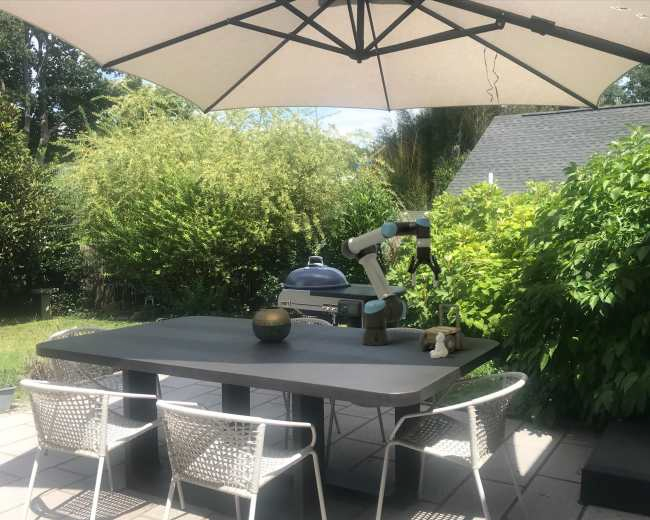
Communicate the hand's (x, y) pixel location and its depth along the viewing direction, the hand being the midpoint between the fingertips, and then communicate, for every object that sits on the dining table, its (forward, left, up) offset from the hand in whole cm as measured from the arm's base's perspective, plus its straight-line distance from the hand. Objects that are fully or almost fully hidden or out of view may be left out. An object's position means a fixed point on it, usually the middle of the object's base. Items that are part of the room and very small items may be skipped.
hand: (424, 286), depth 338 cm
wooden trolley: (+14, -6, -32) cm, 35 cm away
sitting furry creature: (+21, -21, -32) cm, 44 cm away
